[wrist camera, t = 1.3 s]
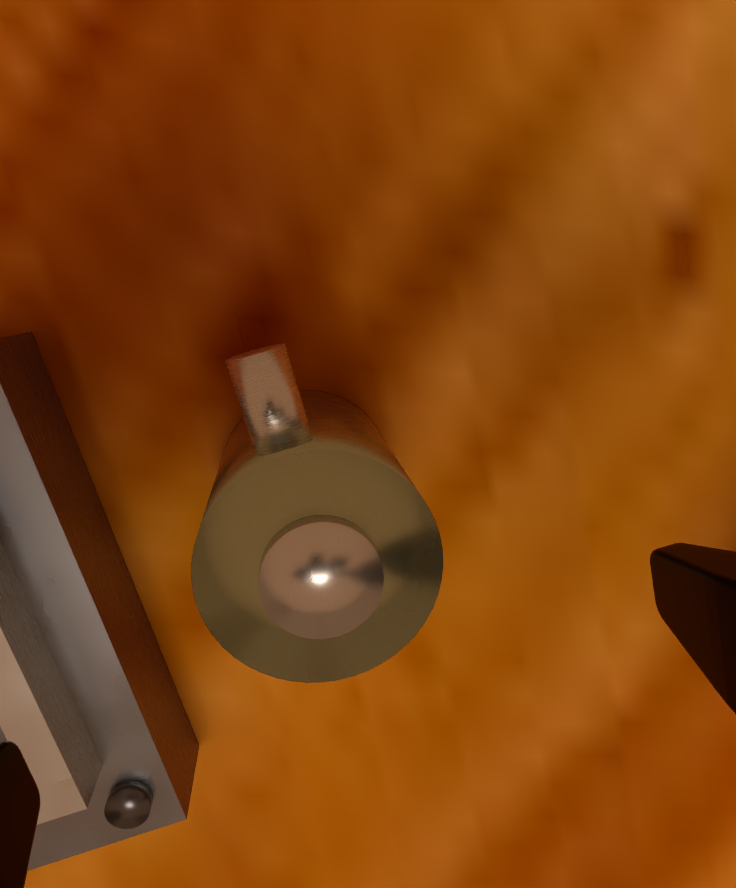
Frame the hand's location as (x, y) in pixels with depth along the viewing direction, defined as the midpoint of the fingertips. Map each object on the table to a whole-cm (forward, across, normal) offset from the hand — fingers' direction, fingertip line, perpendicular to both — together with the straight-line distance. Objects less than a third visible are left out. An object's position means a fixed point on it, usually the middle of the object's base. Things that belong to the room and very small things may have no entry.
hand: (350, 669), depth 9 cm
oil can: (+11, 0, 0) cm, 11 cm away
